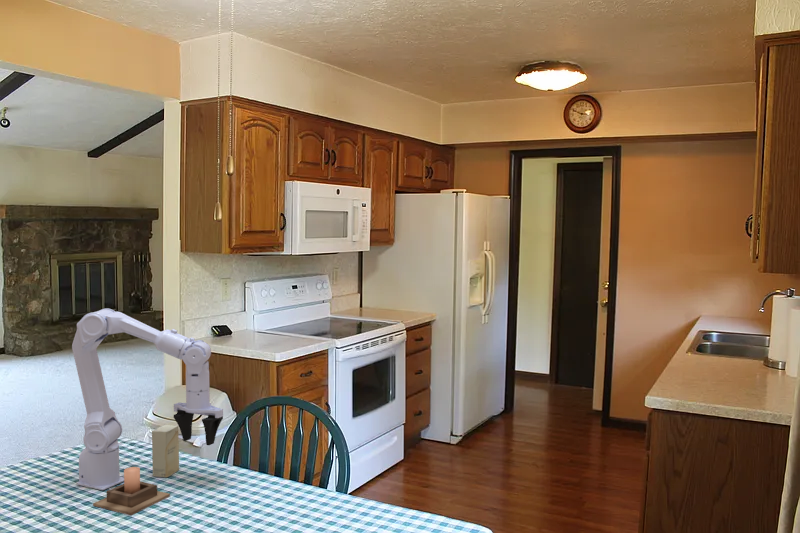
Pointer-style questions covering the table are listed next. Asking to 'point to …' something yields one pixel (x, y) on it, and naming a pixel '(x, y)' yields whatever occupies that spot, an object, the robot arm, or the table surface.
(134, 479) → the peg
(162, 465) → the skincare box
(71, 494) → the table surface
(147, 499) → the holder
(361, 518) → the table surface
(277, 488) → the table surface
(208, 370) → the robot arm
